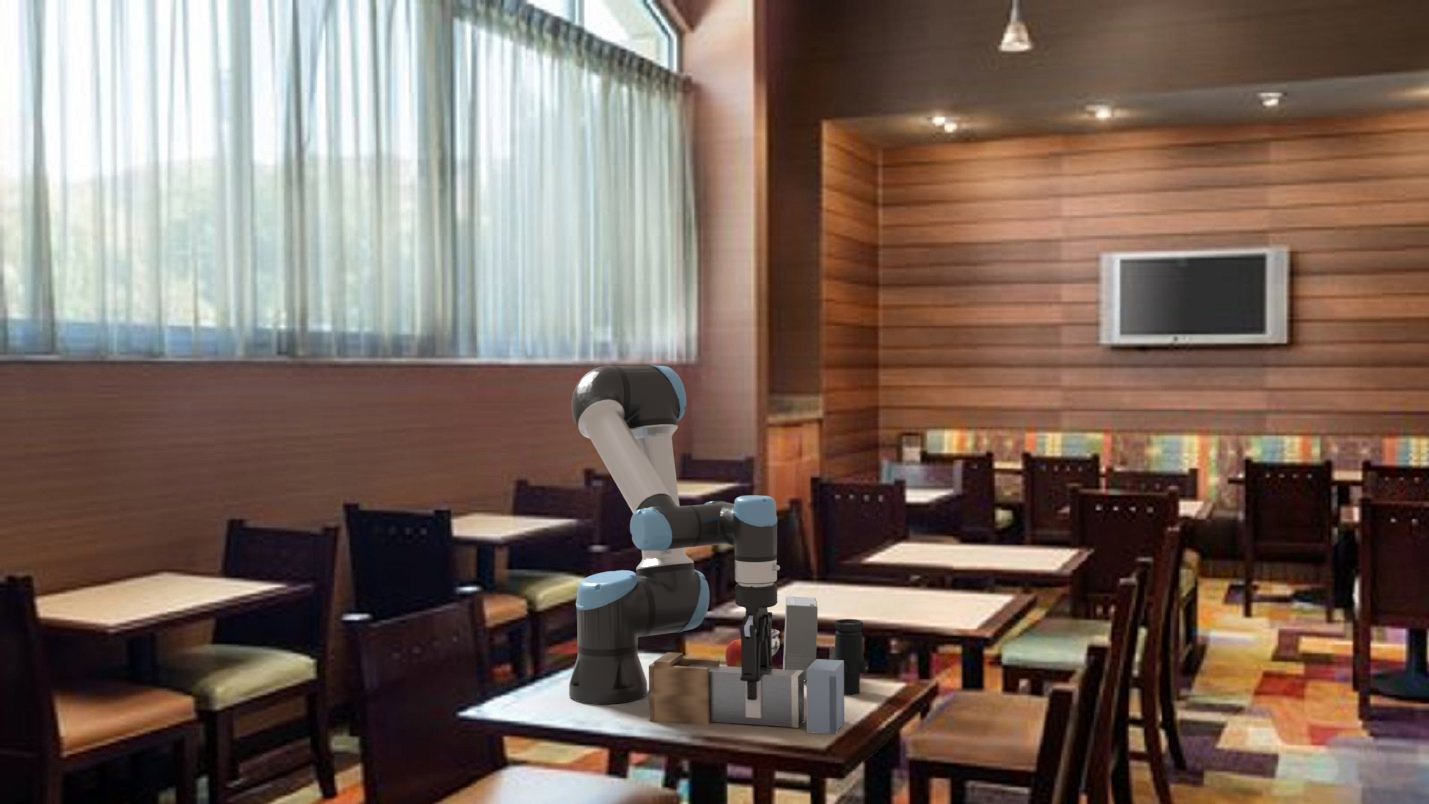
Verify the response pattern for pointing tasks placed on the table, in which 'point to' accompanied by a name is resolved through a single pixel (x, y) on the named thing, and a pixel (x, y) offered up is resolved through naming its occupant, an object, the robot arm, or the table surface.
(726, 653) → the apple
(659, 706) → the brown wooden box
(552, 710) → the table surface
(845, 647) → the scope
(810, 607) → the skincare box
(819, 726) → the blue-grey upright rectangular block
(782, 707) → the grey rectangular box
